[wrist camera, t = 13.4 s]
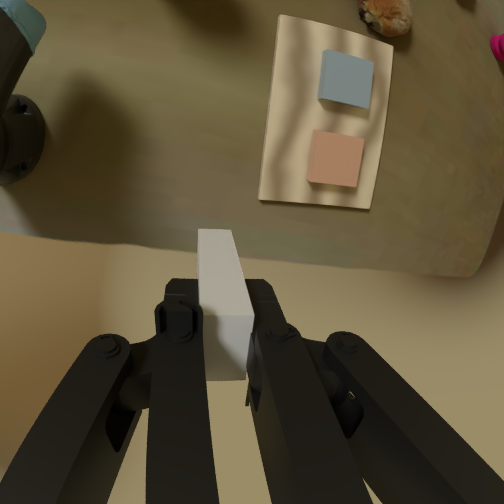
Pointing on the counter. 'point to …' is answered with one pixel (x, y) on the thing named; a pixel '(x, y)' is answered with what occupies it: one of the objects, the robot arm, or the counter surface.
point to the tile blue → (345, 79)
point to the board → (319, 114)
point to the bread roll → (387, 16)
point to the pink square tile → (334, 158)
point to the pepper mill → (498, 46)
